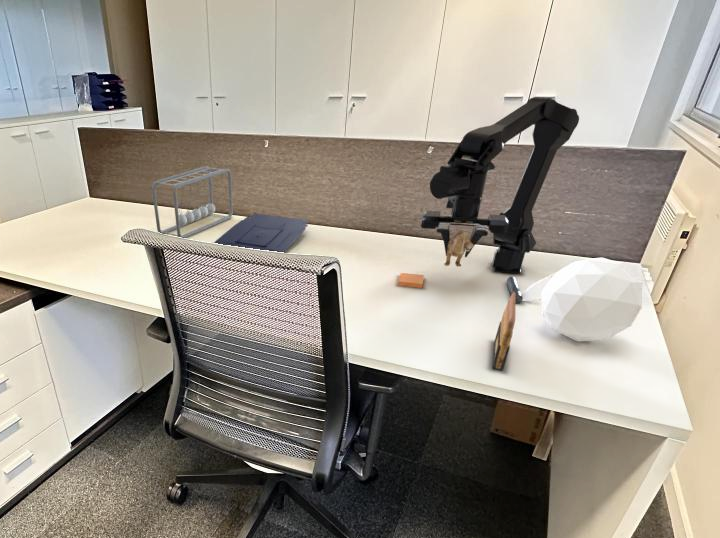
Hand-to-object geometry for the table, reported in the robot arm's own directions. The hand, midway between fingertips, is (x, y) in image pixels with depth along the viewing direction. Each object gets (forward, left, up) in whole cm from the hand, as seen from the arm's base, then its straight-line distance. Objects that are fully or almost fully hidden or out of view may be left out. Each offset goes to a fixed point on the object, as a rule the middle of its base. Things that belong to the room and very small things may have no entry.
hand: (456, 255), depth 121 cm
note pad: (+10, 0, -8) cm, 13 cm away
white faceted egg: (-25, +13, -8) cm, 29 cm away
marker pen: (-14, 0, -8) cm, 16 cm away
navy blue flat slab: (+58, -20, -8) cm, 62 cm away
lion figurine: (0, 0, -2) cm, 2 cm away
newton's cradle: (+85, -30, -8) cm, 91 cm away
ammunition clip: (-9, +32, -8) cm, 34 cm away
